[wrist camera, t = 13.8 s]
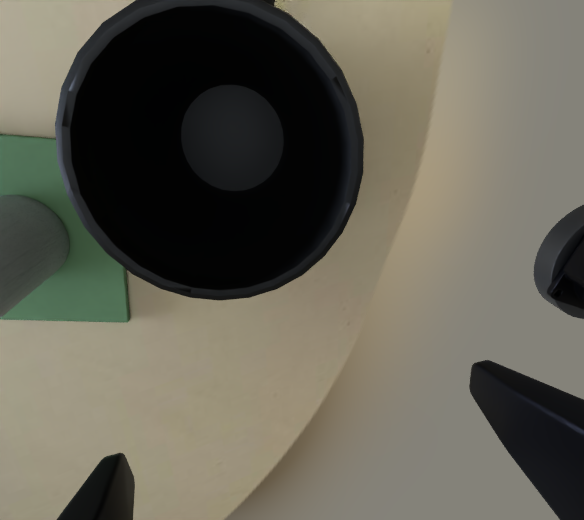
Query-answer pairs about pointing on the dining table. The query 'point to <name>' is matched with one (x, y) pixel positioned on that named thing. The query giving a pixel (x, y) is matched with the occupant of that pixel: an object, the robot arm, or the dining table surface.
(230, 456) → the dining table surface
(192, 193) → the mug
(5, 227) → the grey tumbler
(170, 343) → the dining table surface
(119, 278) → the green mat
